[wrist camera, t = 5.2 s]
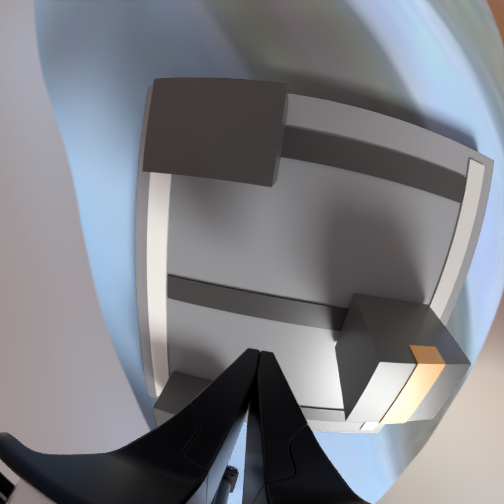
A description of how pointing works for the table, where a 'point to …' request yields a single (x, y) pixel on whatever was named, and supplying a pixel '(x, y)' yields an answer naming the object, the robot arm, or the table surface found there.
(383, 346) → the block
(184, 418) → the robot arm
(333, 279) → the panel
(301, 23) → the table surface
